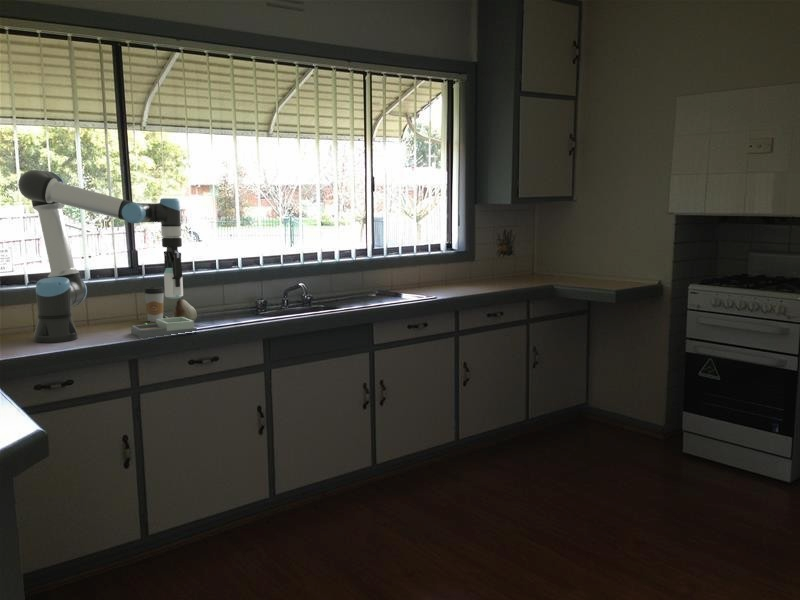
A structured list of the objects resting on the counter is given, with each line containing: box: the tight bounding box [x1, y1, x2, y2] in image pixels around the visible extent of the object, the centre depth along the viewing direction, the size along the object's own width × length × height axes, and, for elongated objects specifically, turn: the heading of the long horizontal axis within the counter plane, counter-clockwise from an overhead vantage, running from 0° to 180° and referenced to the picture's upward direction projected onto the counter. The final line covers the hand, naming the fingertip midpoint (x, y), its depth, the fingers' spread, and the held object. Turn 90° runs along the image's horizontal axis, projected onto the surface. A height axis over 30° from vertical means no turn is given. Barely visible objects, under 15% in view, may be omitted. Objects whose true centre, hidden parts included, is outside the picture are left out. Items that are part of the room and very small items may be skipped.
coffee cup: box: [144, 286, 165, 323], centre depth 315 cm, size 8×8×15 cm
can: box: [163, 268, 184, 300], centre depth 285 cm, size 7×7×12 cm
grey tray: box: [130, 317, 198, 339], centre depth 284 cm, size 22×14×5 cm, turn 126°
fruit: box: [173, 297, 198, 322], centre depth 304 cm, size 10×9×12 cm
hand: (174, 293), depth 285 cm, fingers closed on can, 7 cm apart
